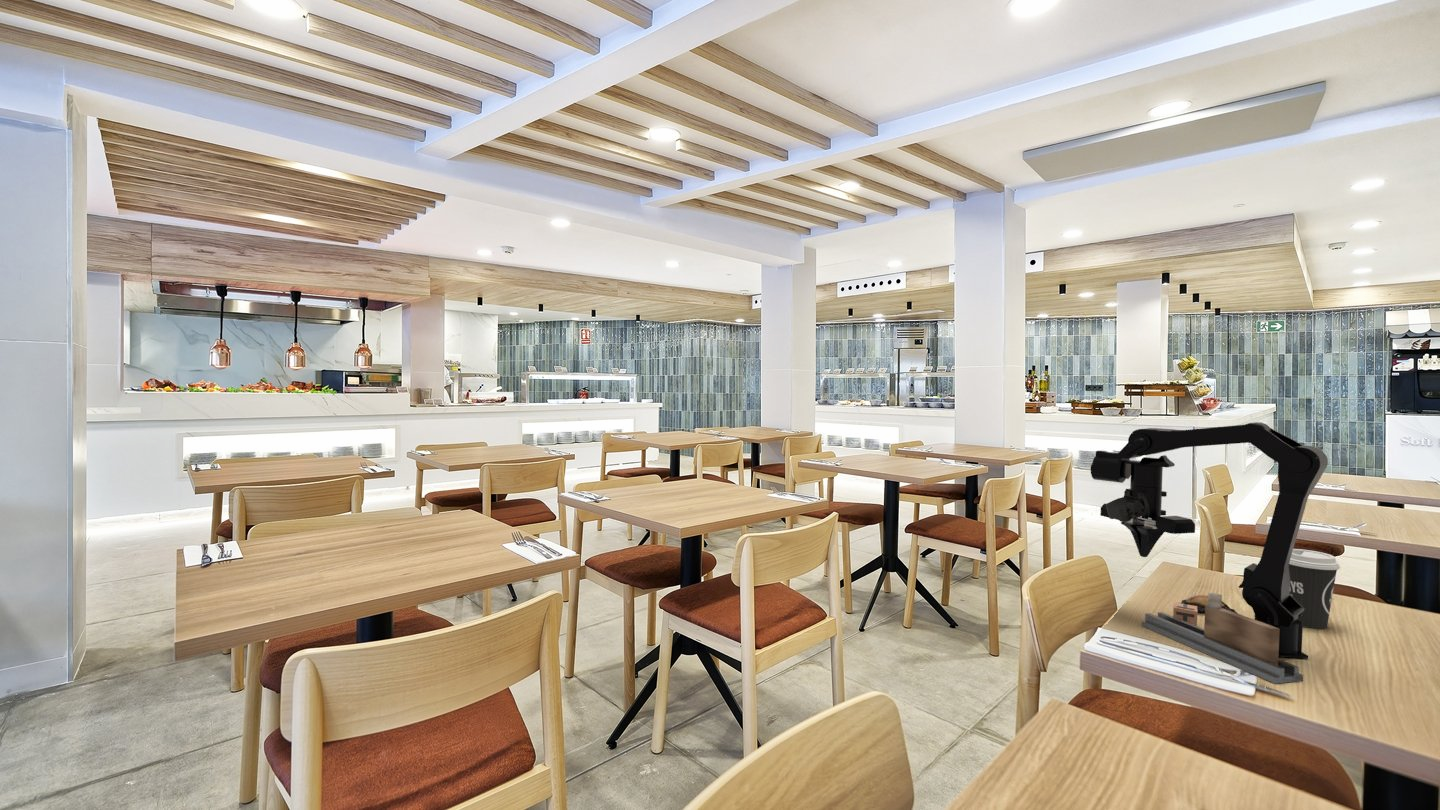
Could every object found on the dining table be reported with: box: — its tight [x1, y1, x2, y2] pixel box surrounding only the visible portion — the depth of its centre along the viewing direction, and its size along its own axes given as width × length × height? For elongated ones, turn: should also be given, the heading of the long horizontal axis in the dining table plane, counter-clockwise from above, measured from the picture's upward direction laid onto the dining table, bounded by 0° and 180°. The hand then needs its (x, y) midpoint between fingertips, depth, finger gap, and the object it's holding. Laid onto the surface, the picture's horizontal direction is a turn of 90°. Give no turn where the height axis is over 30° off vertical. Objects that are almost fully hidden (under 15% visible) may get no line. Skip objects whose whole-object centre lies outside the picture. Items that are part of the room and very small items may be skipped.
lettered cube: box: [1172, 601, 1198, 626], centre depth 131 cm, size 4×4×4 cm
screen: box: [1203, 592, 1280, 666], centre depth 114 cm, size 12×2×9 cm, turn 12°
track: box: [1140, 611, 1304, 685], centre depth 119 cm, size 26×6×2 cm, turn 12°
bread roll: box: [1180, 594, 1239, 617], centre depth 140 cm, size 11×8×4 cm
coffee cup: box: [1289, 548, 1341, 630], centre depth 133 cm, size 10×10×15 cm
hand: (1143, 556), depth 137 cm, fingers closed
